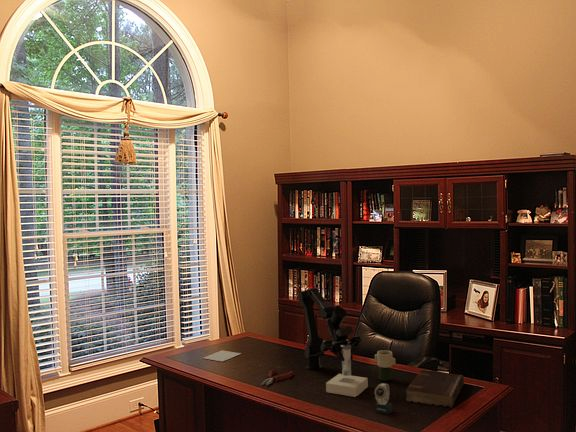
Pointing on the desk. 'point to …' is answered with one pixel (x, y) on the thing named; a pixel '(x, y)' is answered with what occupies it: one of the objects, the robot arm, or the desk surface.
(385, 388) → the watch
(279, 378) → the pliers
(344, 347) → the steel pin
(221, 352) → the paper stack
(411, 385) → the hardback book
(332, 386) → the block
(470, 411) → the desk surface
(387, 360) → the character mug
